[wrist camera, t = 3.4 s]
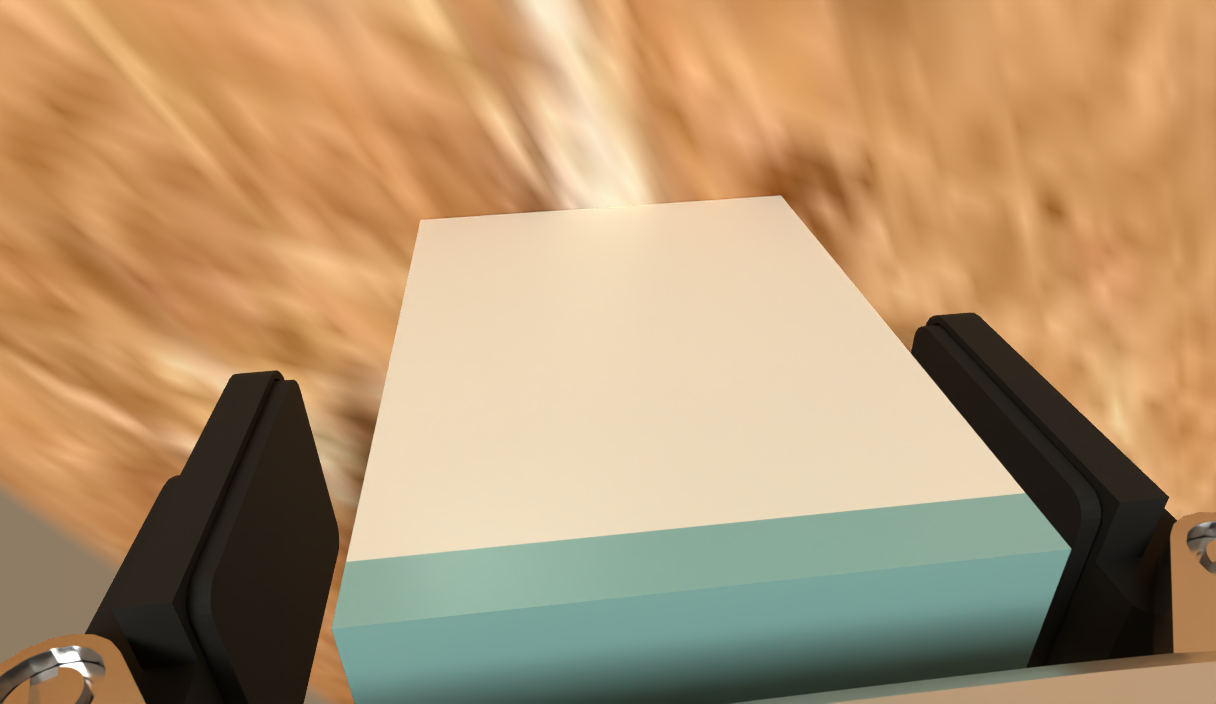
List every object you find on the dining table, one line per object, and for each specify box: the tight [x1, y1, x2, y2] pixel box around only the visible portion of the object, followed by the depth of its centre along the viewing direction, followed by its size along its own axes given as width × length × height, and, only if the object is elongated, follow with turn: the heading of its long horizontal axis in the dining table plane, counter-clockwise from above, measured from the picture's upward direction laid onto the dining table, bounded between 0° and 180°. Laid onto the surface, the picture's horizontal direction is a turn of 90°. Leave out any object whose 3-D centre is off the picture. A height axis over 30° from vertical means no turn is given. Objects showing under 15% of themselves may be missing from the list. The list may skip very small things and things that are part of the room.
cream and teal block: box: [332, 196, 1071, 704], centre depth 10 cm, size 5×5×7 cm
